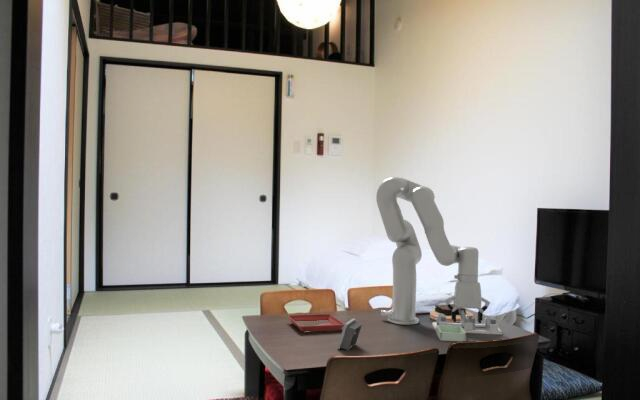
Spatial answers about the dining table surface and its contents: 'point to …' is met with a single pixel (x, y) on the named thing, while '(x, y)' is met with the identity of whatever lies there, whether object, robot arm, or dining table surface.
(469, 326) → the fuse panel
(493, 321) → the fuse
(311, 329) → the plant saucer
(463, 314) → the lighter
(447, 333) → the tray
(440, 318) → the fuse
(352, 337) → the electrical switch
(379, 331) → the dining table surface
